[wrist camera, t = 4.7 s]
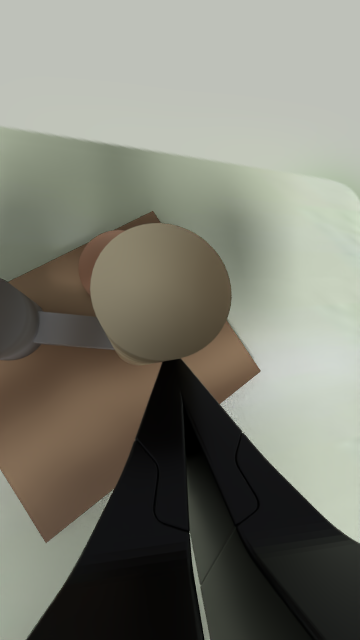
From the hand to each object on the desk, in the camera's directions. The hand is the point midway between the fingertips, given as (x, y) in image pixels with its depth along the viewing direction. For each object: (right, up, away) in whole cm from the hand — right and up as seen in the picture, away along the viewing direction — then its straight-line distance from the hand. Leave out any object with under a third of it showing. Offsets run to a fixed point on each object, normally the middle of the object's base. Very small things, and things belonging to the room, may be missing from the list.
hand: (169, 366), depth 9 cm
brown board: (-4, 0, +7) cm, 8 cm away
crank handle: (-6, +1, +6) cm, 8 cm away
